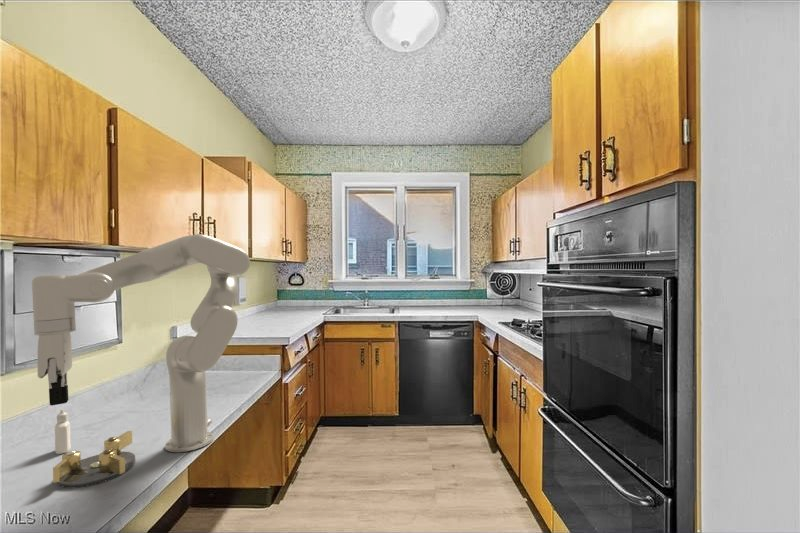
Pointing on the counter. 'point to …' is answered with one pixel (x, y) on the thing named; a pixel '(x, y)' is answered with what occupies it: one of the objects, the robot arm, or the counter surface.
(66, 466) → the knob
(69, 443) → the eye dropper bottle
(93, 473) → the base
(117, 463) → the knob
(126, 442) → the knob
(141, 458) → the counter surface
